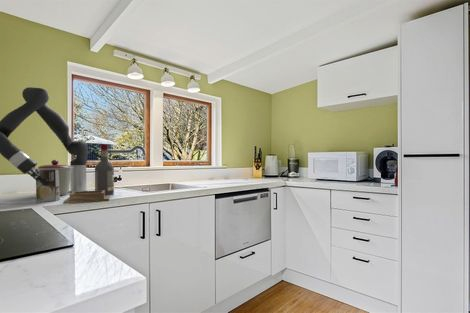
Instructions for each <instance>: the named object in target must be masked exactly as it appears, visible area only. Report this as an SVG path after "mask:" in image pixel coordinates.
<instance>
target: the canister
mask: <svg viewBox="0 0 470 313" xmlns="http://www.w3.org/2000/svg"><path fill="white" fill-rule="evenodd" d="M36 168H37V169H38V168H39V169H40V170H59V189H60V197H61V196H65V195H67V194H68V193H69V191H70V177H71V169H72V168H73V167H71V166H70V164H68V165H67V164H59V160H57V159H53V160H51V164H43V165H40V166H38V167H36Z"/></svg>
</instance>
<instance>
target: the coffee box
mask: <svg viewBox="0 0 470 313" xmlns="http://www.w3.org/2000/svg"><path fill="white" fill-rule="evenodd" d="M36 171H39V172H40V173H41V174H42V177H43V178H44V179H46V180H47V181H48V182H49V184H48V185H47V186H45V185H44V184H42V183H41V182H40V181H36V180H35V196H36V199H35V201H36V203H38V202H39V203H40V202H41V203H42V202H57V201H59V200H61V198H60V197H61V196H60V189H59V170H36ZM38 174H39V173H38Z"/></svg>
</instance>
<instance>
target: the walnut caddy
mask: <svg viewBox="0 0 470 313" xmlns="http://www.w3.org/2000/svg"><path fill="white" fill-rule="evenodd" d="M68 196H69V197H67V198H66V199H65V200H63V204H74V203H75V204H77V203H92V202H95V203H96V202H108V201H110V197H111V195H105V190H99V191H95V190H86V191H77V192H70V193H69V195H68Z"/></svg>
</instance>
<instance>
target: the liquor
mask: <svg viewBox="0 0 470 313" xmlns="http://www.w3.org/2000/svg"><path fill="white" fill-rule="evenodd" d="M108 146H109V145H108V144H105V143H103V144H100V149H101V150H100V151H101V152H100V154H101V155H100V156H101V158H100V161H99V162H98V163H97V164H96V165H95V167H94V191H99V190H105V195H110V196H112V195H114V194H115V184H114V183H115V177H114V176H115V173H114V172H115V170H114V165H113V164H112V163H111V161H109V157H108V156H109V155H108V150H109V149H108V148H109V147H108Z"/></svg>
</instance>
